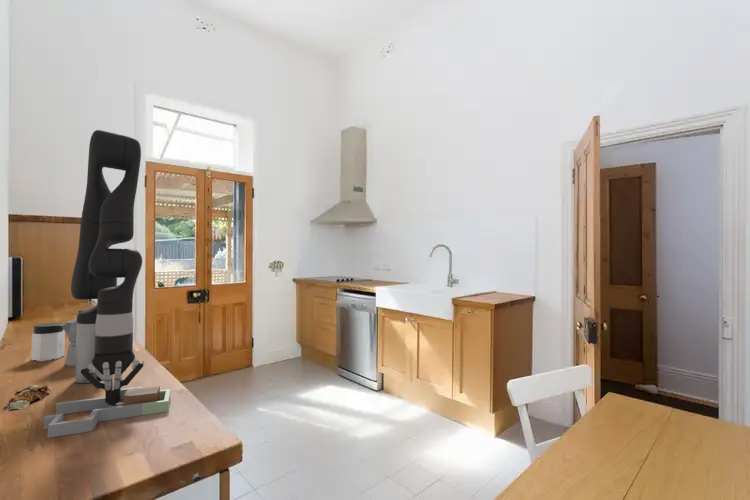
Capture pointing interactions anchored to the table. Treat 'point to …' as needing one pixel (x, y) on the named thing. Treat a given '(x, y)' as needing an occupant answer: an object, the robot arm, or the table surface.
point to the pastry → (26, 397)
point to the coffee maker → (71, 332)
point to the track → (100, 413)
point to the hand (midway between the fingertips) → (112, 404)
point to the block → (141, 395)
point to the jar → (48, 342)
